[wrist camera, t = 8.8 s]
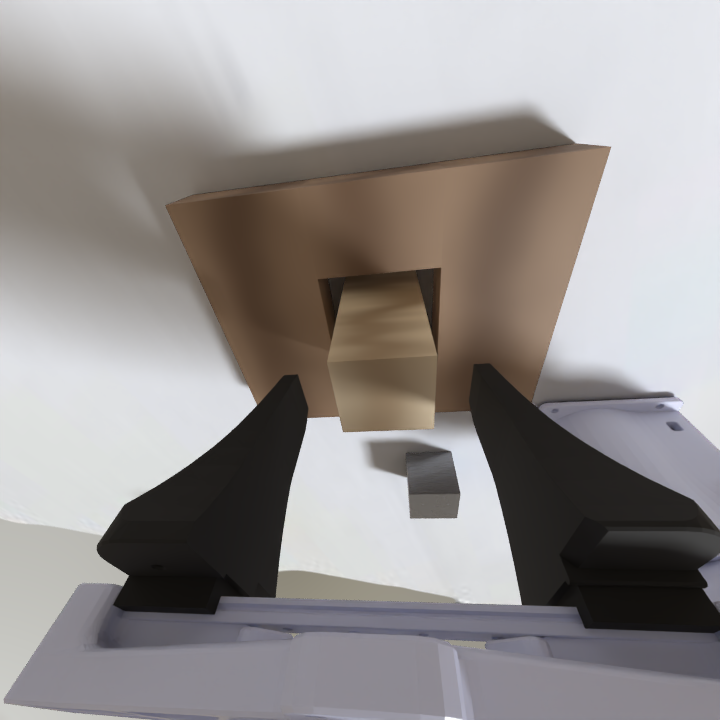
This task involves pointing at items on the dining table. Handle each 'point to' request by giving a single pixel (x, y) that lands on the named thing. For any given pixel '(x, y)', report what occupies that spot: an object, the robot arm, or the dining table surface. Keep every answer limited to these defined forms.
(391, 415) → the long beech pin
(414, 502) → the brushed steel cube
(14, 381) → the dining table surface
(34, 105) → the dining table surface
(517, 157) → the hole board
